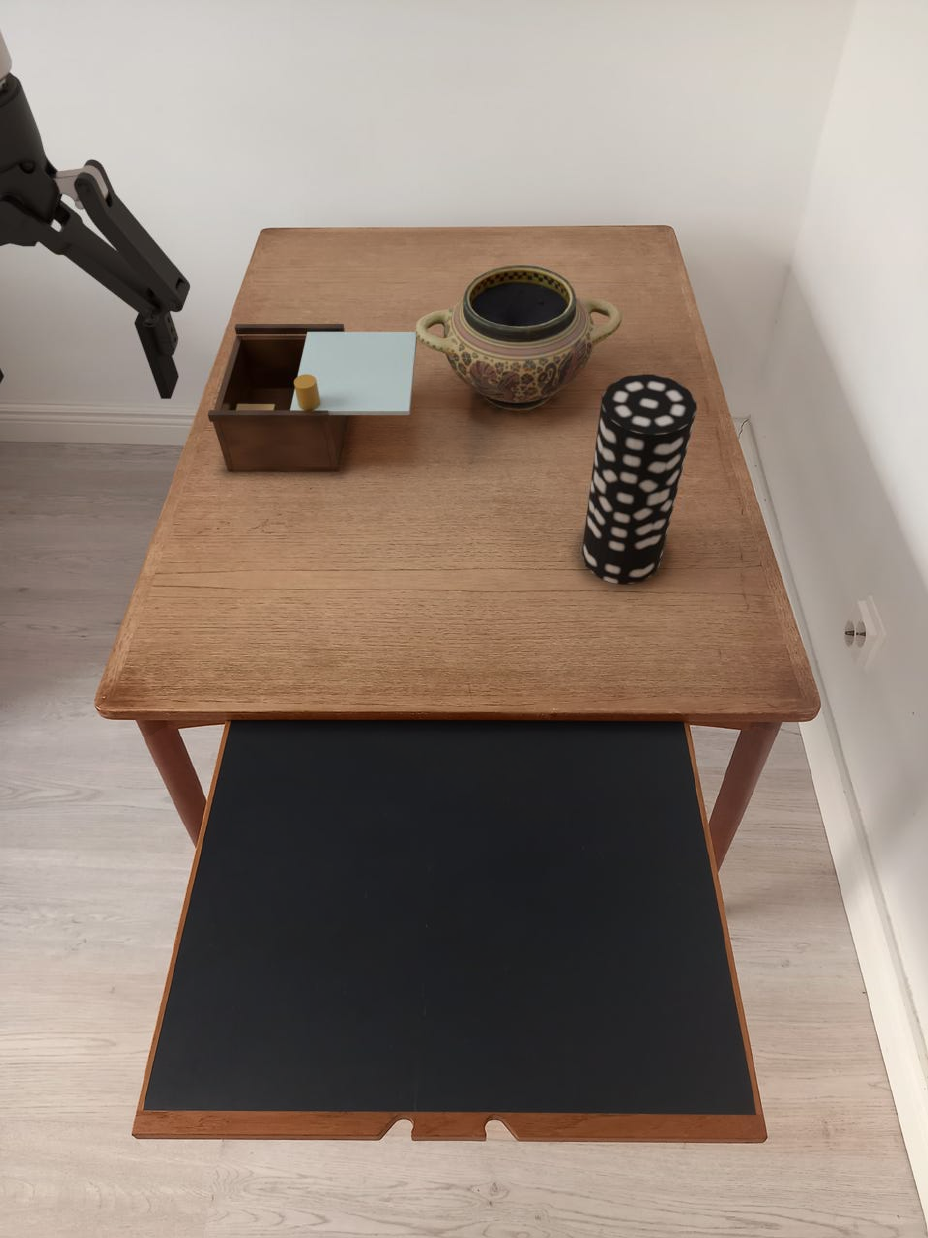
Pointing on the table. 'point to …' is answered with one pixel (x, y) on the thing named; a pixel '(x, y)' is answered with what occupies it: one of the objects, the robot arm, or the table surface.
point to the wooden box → (268, 377)
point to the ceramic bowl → (519, 334)
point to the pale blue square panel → (356, 373)
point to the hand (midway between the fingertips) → (81, 387)
